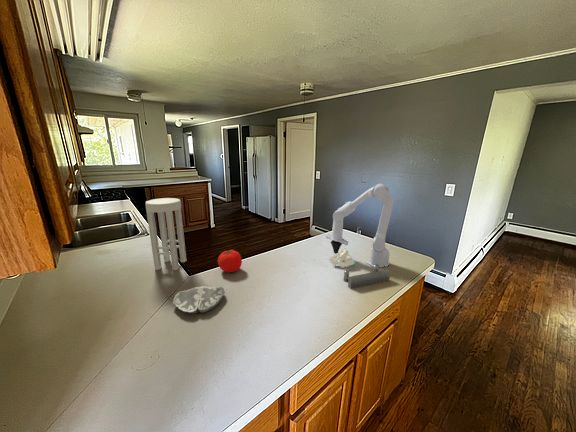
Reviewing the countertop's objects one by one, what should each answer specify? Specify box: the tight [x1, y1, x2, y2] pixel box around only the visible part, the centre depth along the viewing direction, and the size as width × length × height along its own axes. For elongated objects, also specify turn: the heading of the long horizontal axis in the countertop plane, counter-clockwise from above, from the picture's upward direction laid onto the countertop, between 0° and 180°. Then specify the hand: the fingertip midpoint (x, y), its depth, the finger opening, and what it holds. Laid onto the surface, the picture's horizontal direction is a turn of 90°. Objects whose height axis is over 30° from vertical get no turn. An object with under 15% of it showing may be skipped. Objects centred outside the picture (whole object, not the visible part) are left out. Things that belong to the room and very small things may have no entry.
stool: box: [145, 197, 187, 271], centre depth 123 cm, size 16×16×35 cm
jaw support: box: [328, 248, 356, 269], centre depth 130 cm, size 12×9×10 cm
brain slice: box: [172, 285, 226, 314], centre depth 96 cm, size 20×17×3 cm
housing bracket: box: [343, 264, 391, 290], centre depth 115 cm, size 22×8×5 cm, turn 110°
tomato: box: [217, 248, 243, 273], centre depth 121 cm, size 12×12×11 cm
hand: (335, 253), depth 139 cm, fingers closed
